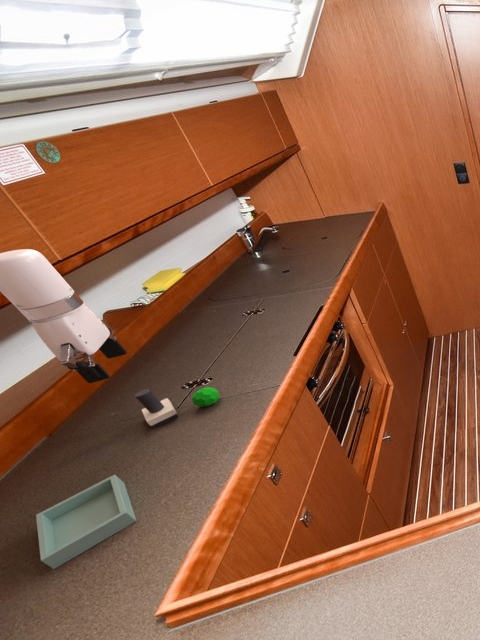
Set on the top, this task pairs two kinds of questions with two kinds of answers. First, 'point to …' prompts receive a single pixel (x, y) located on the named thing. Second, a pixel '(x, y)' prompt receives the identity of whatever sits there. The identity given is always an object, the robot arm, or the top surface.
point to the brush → (156, 408)
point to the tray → (83, 521)
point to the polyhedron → (205, 397)
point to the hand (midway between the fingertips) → (109, 367)
